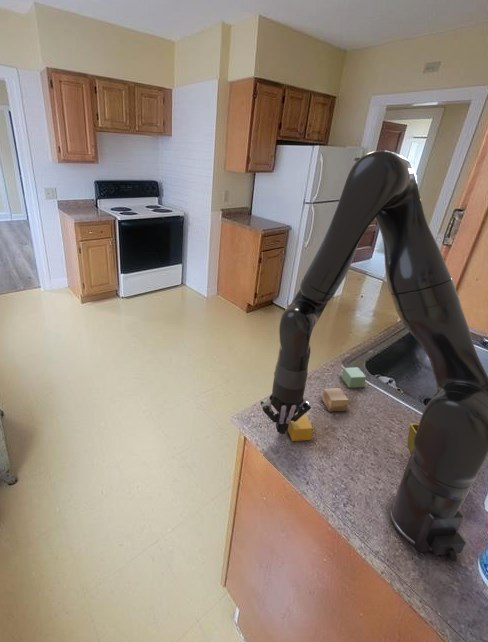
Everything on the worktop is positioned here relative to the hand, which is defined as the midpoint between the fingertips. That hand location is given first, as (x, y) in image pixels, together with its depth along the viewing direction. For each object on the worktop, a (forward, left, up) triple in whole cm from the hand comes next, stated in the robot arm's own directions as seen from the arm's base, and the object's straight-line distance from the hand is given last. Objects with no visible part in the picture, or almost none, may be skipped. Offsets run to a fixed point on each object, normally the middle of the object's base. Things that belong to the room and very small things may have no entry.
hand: (281, 431), depth 84 cm
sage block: (+19, -30, -1) cm, 36 cm away
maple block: (+9, -19, -1) cm, 21 cm away
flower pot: (-12, -32, -1) cm, 34 cm away
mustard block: (0, -5, -1) cm, 5 cm away
